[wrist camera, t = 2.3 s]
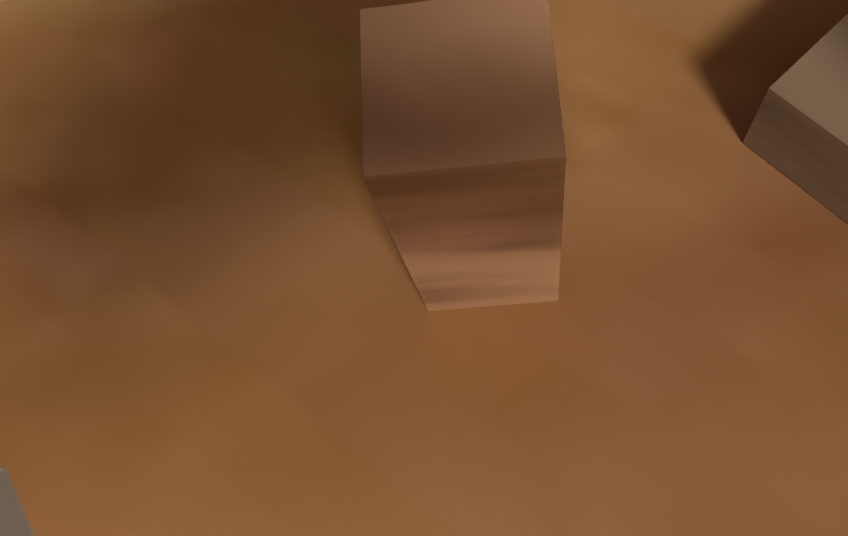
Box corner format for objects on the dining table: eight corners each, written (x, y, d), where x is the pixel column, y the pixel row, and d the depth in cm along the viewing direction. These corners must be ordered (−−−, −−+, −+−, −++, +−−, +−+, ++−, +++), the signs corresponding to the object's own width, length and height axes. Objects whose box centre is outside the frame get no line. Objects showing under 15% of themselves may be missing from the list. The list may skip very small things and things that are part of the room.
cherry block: (423, 193, 33) (359, 8, 22) (546, 181, 32) (546, -14, 21) (428, 311, 31) (362, 176, 20) (558, 300, 31) (565, 156, 19)
